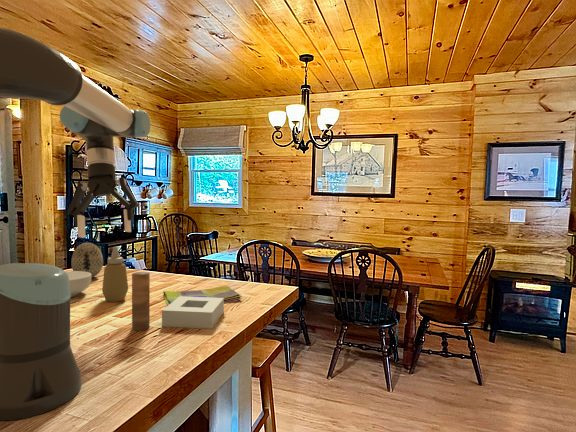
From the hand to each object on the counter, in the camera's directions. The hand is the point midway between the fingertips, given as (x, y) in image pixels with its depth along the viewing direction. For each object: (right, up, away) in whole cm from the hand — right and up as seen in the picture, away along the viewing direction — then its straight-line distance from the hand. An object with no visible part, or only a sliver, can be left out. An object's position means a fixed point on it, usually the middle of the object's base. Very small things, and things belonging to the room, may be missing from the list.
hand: (105, 234), depth 109 cm
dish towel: (+24, -24, +20) cm, 40 cm away
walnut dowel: (+14, -25, -9) cm, 30 cm away
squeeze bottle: (-4, -23, +16) cm, 28 cm away
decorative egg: (-30, -21, +45) cm, 58 cm away
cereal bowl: (-24, -22, +20) cm, 39 cm away
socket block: (+27, -25, -1) cm, 36 cm away
